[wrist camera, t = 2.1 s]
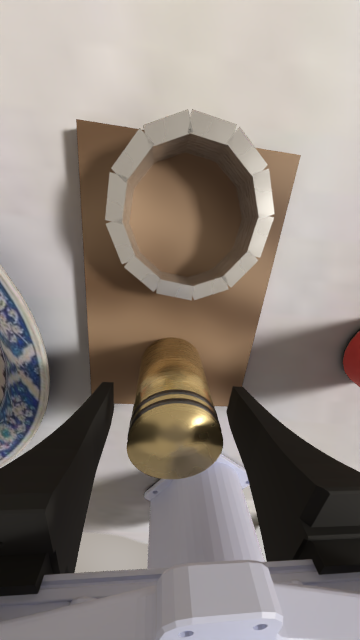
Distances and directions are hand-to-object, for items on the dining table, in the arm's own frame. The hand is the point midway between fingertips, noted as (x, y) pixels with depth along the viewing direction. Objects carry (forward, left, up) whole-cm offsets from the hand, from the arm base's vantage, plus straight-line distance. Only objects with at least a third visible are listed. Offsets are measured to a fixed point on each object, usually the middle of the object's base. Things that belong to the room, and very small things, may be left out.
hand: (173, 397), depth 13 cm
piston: (0, 0, -4) cm, 4 cm away
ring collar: (+8, +6, -5) cm, 11 cm away
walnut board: (+4, +3, -5) cm, 7 cm away
